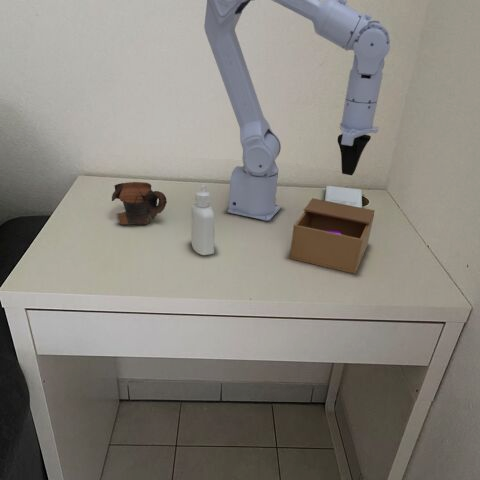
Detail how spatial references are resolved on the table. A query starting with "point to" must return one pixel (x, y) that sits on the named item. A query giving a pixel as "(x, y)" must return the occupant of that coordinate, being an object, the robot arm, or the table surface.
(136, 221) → the pottery mug
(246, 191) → the robot arm
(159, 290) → the table surface
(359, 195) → the hard drive
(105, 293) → the table surface
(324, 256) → the carton
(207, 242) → the eye dropper bottle
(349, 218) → the carton flap
